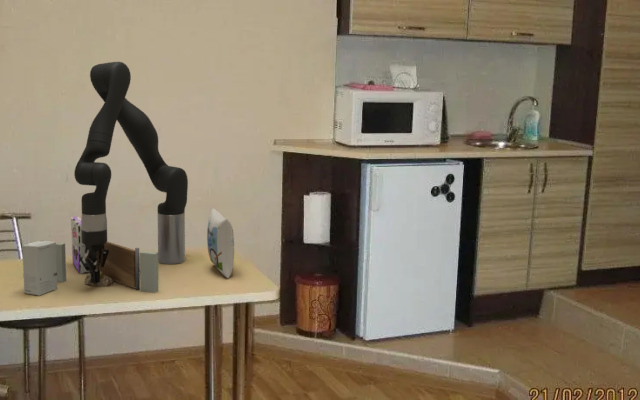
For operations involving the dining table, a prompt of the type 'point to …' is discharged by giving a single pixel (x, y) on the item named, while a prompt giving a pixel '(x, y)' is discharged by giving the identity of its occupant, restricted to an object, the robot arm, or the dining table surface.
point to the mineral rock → (103, 280)
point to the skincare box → (39, 267)
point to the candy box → (77, 244)
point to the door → (120, 264)
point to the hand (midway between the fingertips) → (95, 282)
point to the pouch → (220, 242)
